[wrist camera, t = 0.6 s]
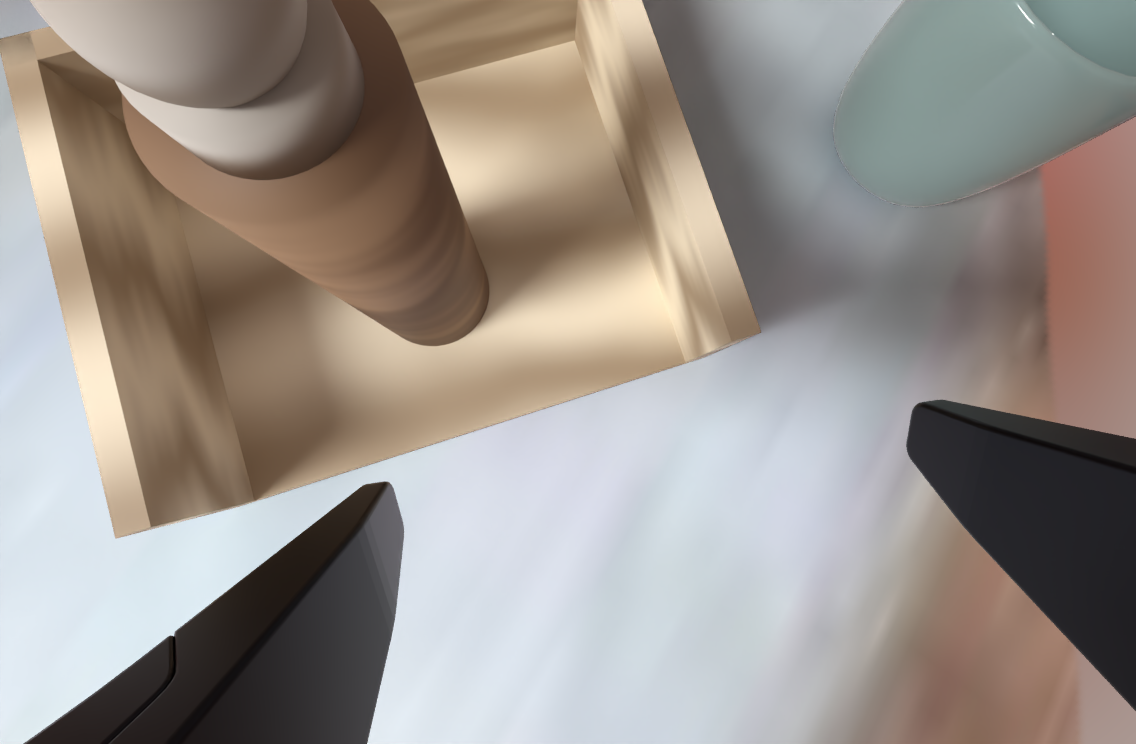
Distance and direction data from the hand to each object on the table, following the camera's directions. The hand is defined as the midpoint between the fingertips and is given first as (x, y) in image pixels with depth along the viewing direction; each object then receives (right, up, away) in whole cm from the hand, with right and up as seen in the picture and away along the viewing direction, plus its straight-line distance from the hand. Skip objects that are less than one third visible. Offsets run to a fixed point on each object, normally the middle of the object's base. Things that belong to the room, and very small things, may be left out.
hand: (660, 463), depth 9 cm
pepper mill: (-7, +5, +13) cm, 15 cm away
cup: (+13, +12, +15) cm, 23 cm away
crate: (-8, +7, +13) cm, 17 cm away
